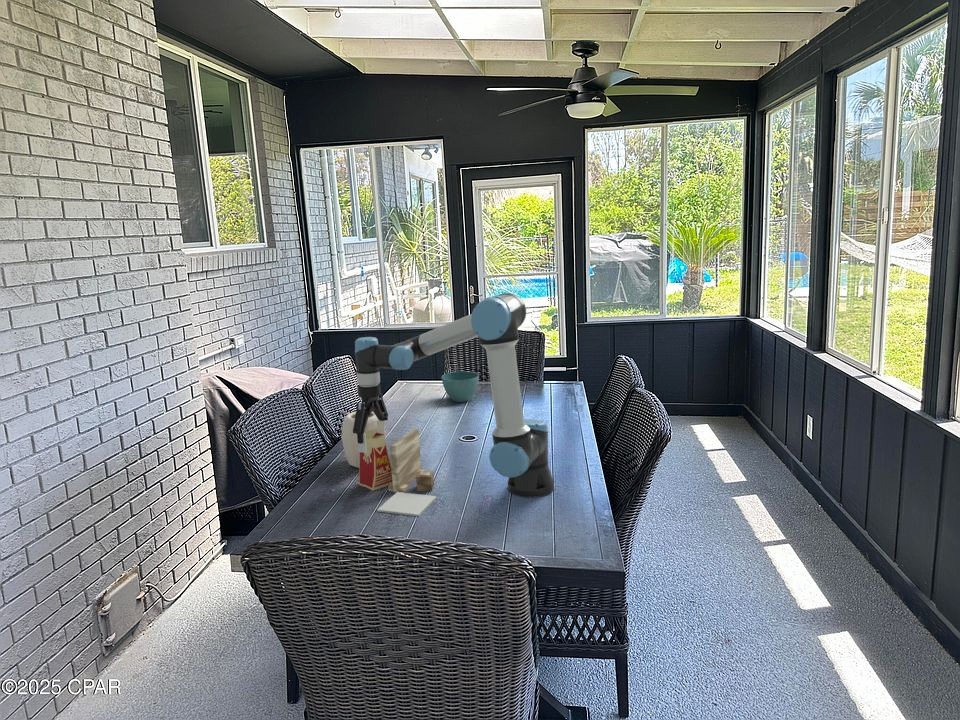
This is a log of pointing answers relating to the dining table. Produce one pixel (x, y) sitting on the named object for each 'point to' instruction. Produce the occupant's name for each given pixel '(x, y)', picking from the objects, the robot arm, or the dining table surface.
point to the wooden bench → (405, 461)
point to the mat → (407, 504)
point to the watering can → (354, 437)
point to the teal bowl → (460, 385)
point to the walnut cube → (425, 480)
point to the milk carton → (375, 462)
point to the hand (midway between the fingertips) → (372, 445)
